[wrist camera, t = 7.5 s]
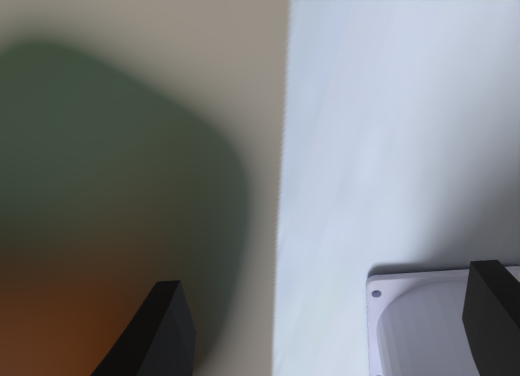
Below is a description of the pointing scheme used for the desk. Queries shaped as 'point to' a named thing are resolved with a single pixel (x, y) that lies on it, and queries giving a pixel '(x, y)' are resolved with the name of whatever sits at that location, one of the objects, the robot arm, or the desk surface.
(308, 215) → the desk surface
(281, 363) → the desk surface
